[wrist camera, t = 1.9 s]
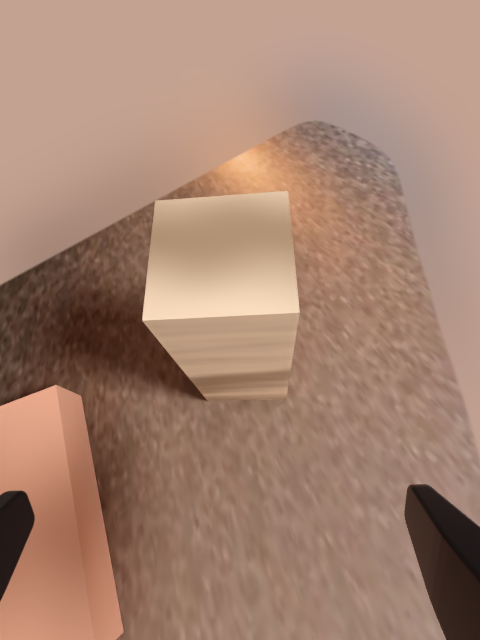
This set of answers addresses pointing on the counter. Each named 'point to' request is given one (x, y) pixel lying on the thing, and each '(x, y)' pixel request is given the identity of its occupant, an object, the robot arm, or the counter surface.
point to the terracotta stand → (56, 524)
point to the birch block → (225, 292)
